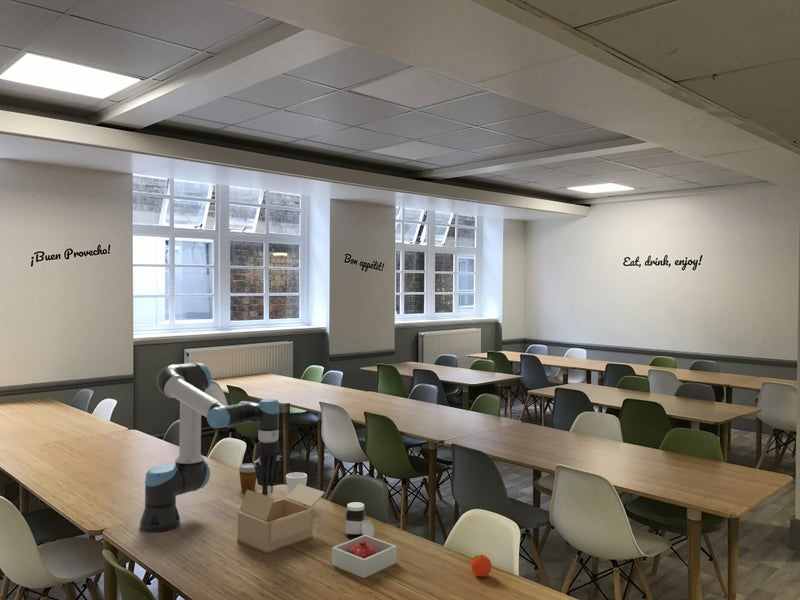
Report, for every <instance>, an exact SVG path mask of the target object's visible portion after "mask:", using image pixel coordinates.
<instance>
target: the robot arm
mask: <svg viewBox="0 0 800 600" xmlns="http://www.w3.org/2000/svg"><path fill="white" fill-rule="evenodd" d="M211 385H212V373H211V371H210V369H209V368H208V367H207V365H205V364H204V363H201V362H189V363H188V362H187V363H177V364H170V365H167V366H165V367H163V368H162V369H161V370H160V371H159V373H158V374H157V377H156V386H157V388H158V390H159V392H160V393H162V394H163V396H166V397H167V398H170V399H176V400H177V401H179V443H178V444H179V448H178V449H179V450H178V452H179V453H178V457H177V458H176V459H175V461H174V462H175V464H172V463H165V464H160V465H155V466H153V467H151V468H150V469H148V470H147V472H146V474H145V481H144V485H145V487H144V489H145V490H144V510H143V512H142V514H141V518H140V521H139V529H140V530H141V531H144V532H150V533H157V532H164V531H171V530H172V529H176V528H177V527H178V526H180V524H181V517H180V513H179V512H178V511H179V510H178V508H177V504H176V502H177V501H176V499H177V496H180V495H183V494H186V493H187V494H188V493H191V492H196V491H198V490H200V489H203V488H204V487H205V486H206V485H207V484H208V483H209V480H210V478H211V471H210V469H211V468H210V467H209V464H208V462H207V461H206V460H205V457H204V456H203V455H202V454H201V453H202V452H201V448H202V447H201V446H202V445H201V444H202V416H204V417H205V418H206V421H207V423H208V425H209V427H211V428H213V429H223V428H227V427H231V426H236V425H241V424H246V423H254V424H258V432H257V433H258V435H257V436H258V439H257V440H259V441H258V442H257V443H258V445H257V447H258V448H257V451H258V456H257V459H256V460H253V461H252V463H253V465H254V467H255V472H256V477H257V478H256V483H257V485H258V486H261V487H262V491H261V492H262V493H261V495H264V496H267V497H270V498H272V494H273V490H274V489H273V488H274V486H275V485H276V484H275V483H277V482H278V480H279V475H280V471H281V470H280V469H281V465H282V463H283V459H284V456H282V455H279V452H278V451H279V436H280V435H279V433H280V431H279V427H280V426H279V425H280V410H281V409H280V403H279V400H278V399H275V398H264V399H260V400H259V402H253V401H249V400H247V401H246V400H245V401H244V400H242V401H239V402H238V403H237V404H231V405H227V404H225V403H223V402H221V401H220V400H218V399H217V398H215V397H213V396H211V395H209V394H207V393H206V390H207V389H209V388H210V386H211Z"/></svg>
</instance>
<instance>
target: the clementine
mask: <svg viewBox="0 0 800 600" xmlns="http://www.w3.org/2000/svg"><path fill="white" fill-rule="evenodd" d="M471 558H472V559H471ZM470 559H471V563H470V567H471V571H472V572H473V574H475V575H476V576H477V577H482V578H483V577H486V576H487V575H489V574H490V573H491V571H492V562H491V560H490V558H489V557H488V556H487V555H485V554H478V553H477V554H473V555H471V556H470V557H469V558H468V560H470Z"/></svg>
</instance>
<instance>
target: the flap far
mask: <svg viewBox="0 0 800 600" xmlns="http://www.w3.org/2000/svg"><path fill="white" fill-rule="evenodd" d="M325 494H326V492H325V491H323V490H320V489H316V488H313V487H310V486H307V485H306V486H304V485H301V484H298V485H297V486H296V487H295V488H294V489H293V490H292V491H291V492H290V493H289V494H288V493H287V495H286V496H285V499H286V500H289V499H290V500H293V501H296V502H299V503H301V504H303V506H306V507H309V508H313V506H315V504H316V503H318V502H319V500H320V499H321V498H323V496H324V495H325Z"/></svg>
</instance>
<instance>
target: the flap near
mask: <svg viewBox="0 0 800 600" xmlns="http://www.w3.org/2000/svg"><path fill="white" fill-rule="evenodd" d="M274 501H275V499H274V497H273V498H272V497H271V498H270V497H267V496H264V495H263V494H262V493H258V492H255V491H250V490H247V491H246V492H245V494H244V497H243V499H242V503H241V505H240V507H239V509H238V512H239V511H242V512H244V513H247V514H250V515H252V516H255V517H257V518H260V519H262V520H265V521H266V520H267V517H268V514H269V512H270V509H271V506H272V503H273V502H274Z"/></svg>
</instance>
